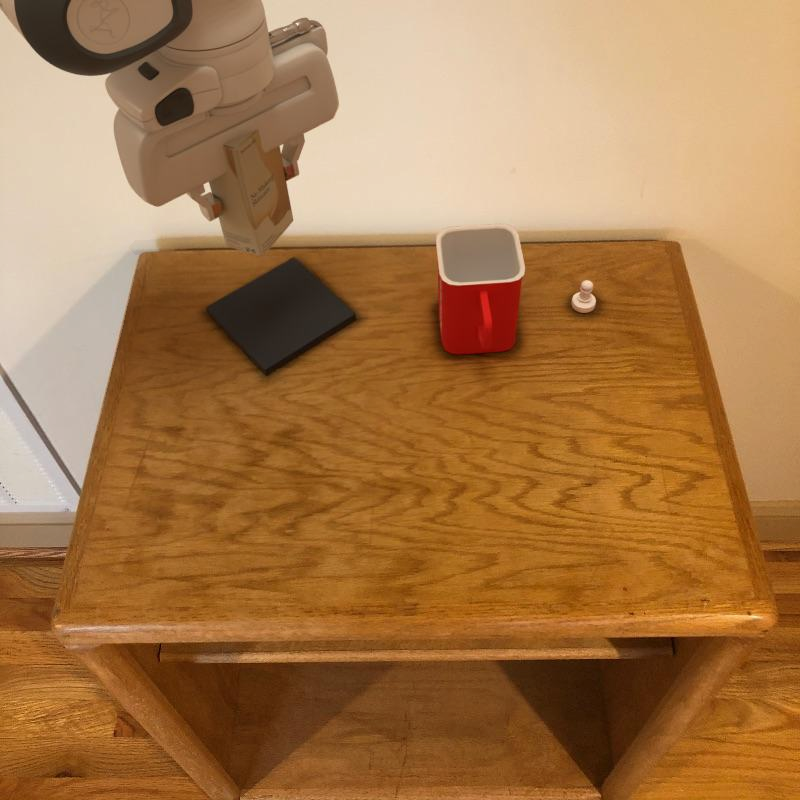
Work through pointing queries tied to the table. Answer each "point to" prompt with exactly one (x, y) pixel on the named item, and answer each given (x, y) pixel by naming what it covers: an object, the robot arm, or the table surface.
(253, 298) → the rubber mat
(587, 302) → the chess pawn
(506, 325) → the mug
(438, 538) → the table surface
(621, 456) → the table surface
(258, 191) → the cosmetic box
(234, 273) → the table surface
